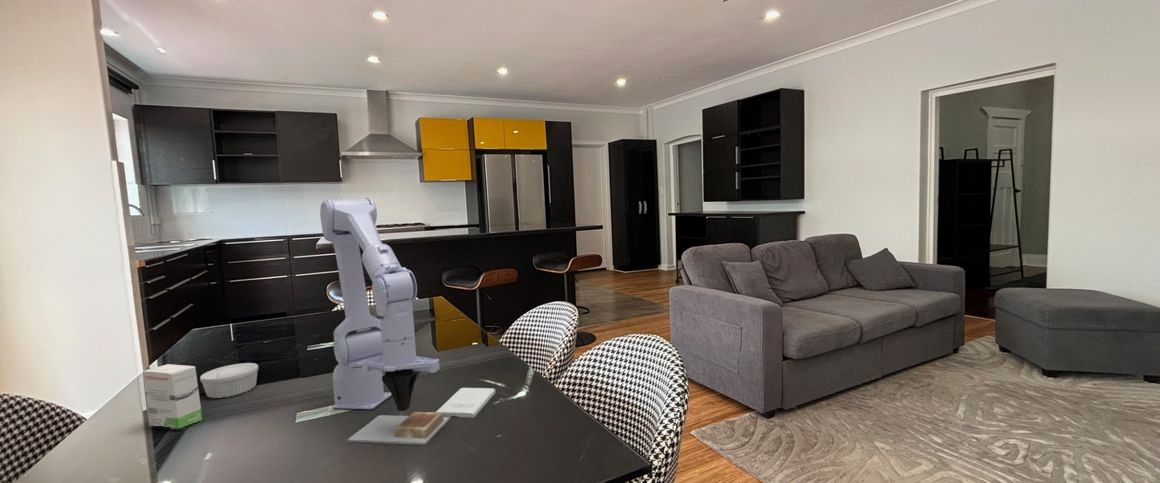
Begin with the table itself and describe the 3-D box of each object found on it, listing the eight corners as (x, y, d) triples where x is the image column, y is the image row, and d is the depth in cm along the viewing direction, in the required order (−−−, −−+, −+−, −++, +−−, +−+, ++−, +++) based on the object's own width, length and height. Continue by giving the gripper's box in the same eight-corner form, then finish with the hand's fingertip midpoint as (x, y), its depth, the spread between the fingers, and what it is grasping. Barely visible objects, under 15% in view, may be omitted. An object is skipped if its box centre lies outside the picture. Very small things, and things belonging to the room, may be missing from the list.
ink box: (203, 421, 100) (197, 365, 99) (177, 432, 95) (170, 373, 94) (174, 417, 103) (168, 362, 102) (147, 428, 98) (140, 370, 97)
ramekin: (191, 398, 113) (188, 376, 113) (240, 381, 124) (238, 361, 123) (222, 403, 109) (220, 380, 109) (270, 385, 119) (268, 364, 119)
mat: (347, 441, 88) (347, 439, 88) (379, 417, 98) (379, 415, 98) (425, 444, 85) (424, 442, 85) (449, 419, 95) (449, 417, 95)
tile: (394, 428, 88) (425, 429, 87) (414, 411, 95) (442, 412, 94) (395, 437, 88) (426, 438, 87) (414, 419, 95) (443, 420, 94)
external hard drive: (495, 395, 108) (474, 420, 96) (460, 394, 109) (435, 419, 97) (495, 388, 108) (473, 412, 95) (460, 387, 109) (434, 411, 97)
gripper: (349, 343, 87) (355, 416, 88) (424, 343, 85) (430, 419, 86) (372, 332, 94) (377, 400, 95) (442, 332, 92) (447, 402, 93)
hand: (404, 408), depth 91 cm, fingers closed
